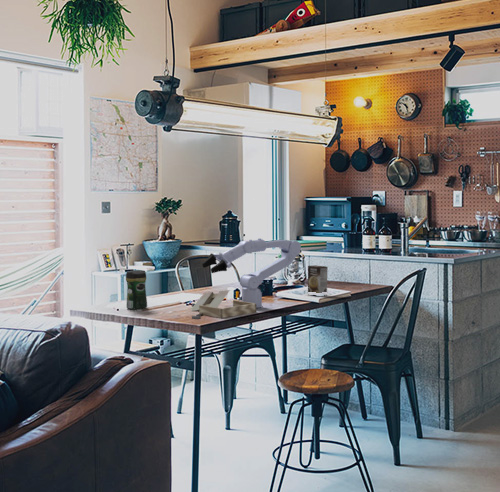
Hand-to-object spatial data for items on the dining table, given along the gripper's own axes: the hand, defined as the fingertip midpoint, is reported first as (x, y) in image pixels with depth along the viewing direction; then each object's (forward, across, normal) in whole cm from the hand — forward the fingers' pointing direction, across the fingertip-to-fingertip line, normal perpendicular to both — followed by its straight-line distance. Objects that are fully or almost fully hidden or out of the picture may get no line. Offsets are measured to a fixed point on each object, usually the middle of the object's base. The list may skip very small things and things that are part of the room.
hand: (207, 268), depth 322 cm
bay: (+2, +15, +18) cm, 23 cm away
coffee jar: (+32, -22, +15) cm, 41 cm away
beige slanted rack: (+6, +3, +20) cm, 21 cm away
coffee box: (-59, -3, +52) cm, 78 cm away
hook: (+17, +16, +11) cm, 26 cm away
